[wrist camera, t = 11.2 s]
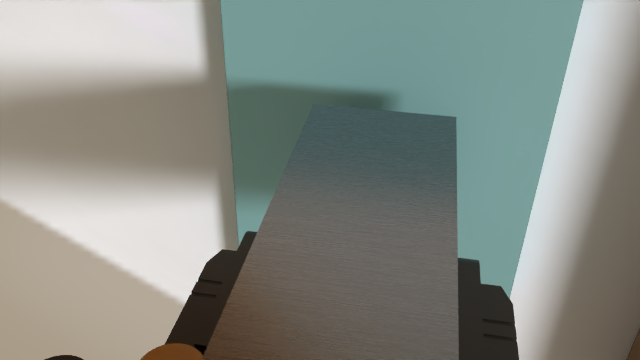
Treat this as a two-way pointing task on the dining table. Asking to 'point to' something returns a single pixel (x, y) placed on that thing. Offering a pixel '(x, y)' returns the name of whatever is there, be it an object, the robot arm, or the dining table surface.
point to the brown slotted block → (635, 349)
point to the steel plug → (353, 246)
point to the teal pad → (405, 95)
